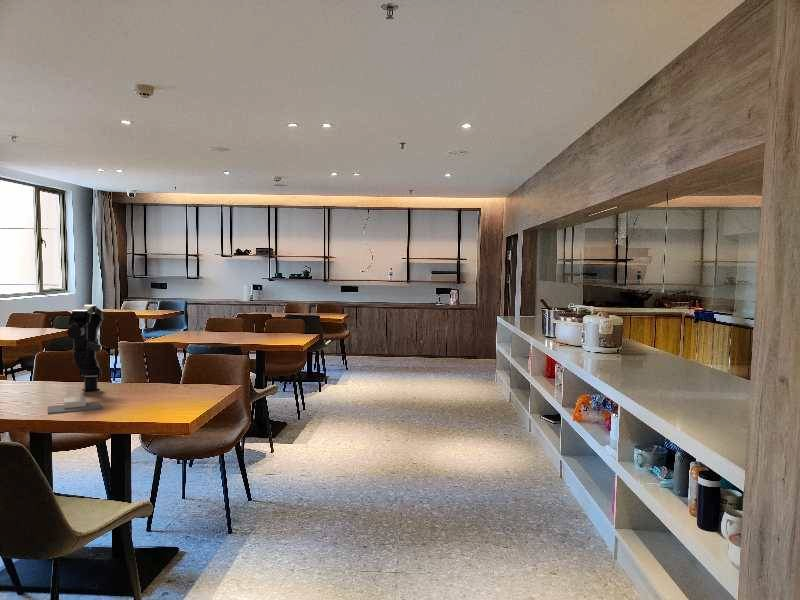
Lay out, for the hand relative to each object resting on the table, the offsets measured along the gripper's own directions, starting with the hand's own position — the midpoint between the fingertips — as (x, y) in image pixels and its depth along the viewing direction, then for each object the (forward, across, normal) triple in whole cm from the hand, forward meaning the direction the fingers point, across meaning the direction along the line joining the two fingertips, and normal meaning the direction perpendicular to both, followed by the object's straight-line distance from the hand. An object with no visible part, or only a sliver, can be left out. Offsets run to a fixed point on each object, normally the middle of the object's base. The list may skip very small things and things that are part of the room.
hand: (80, 370), depth 268 cm
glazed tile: (+11, -14, +3) cm, 18 cm away
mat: (+13, -22, +3) cm, 26 cm away
